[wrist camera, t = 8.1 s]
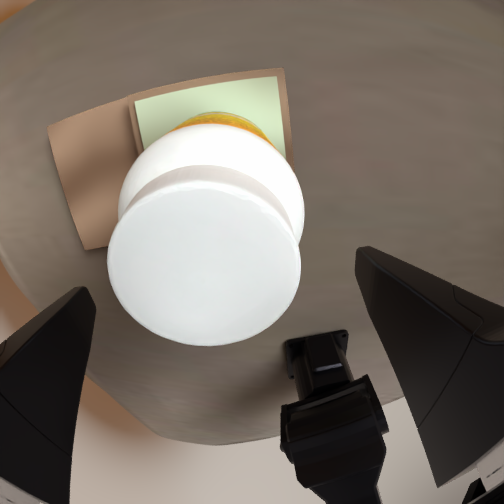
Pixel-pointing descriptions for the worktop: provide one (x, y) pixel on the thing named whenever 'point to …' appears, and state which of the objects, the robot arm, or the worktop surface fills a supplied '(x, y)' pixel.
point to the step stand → (153, 137)
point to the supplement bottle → (208, 233)
